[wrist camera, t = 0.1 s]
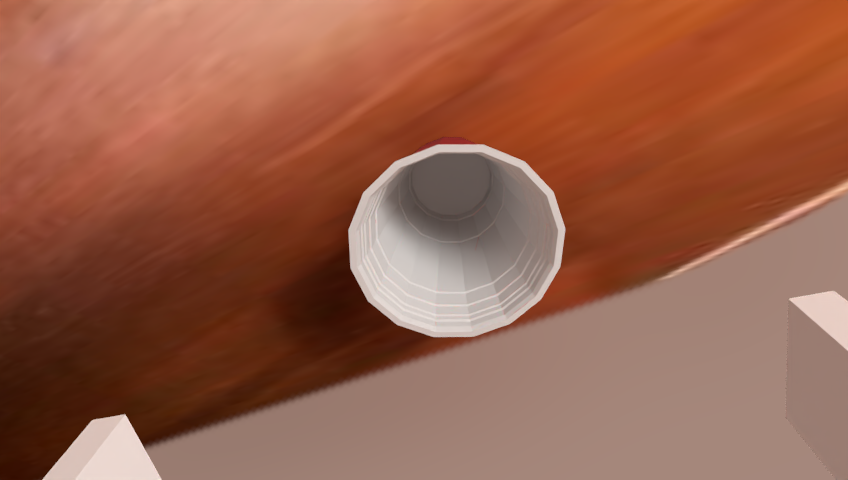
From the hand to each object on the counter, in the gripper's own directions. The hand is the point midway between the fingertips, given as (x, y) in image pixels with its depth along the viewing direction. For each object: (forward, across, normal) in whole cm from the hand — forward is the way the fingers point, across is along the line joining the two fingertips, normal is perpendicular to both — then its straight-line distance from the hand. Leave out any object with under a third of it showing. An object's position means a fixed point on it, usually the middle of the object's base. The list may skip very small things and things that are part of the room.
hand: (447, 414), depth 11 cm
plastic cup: (+28, 0, -4) cm, 28 cm away
